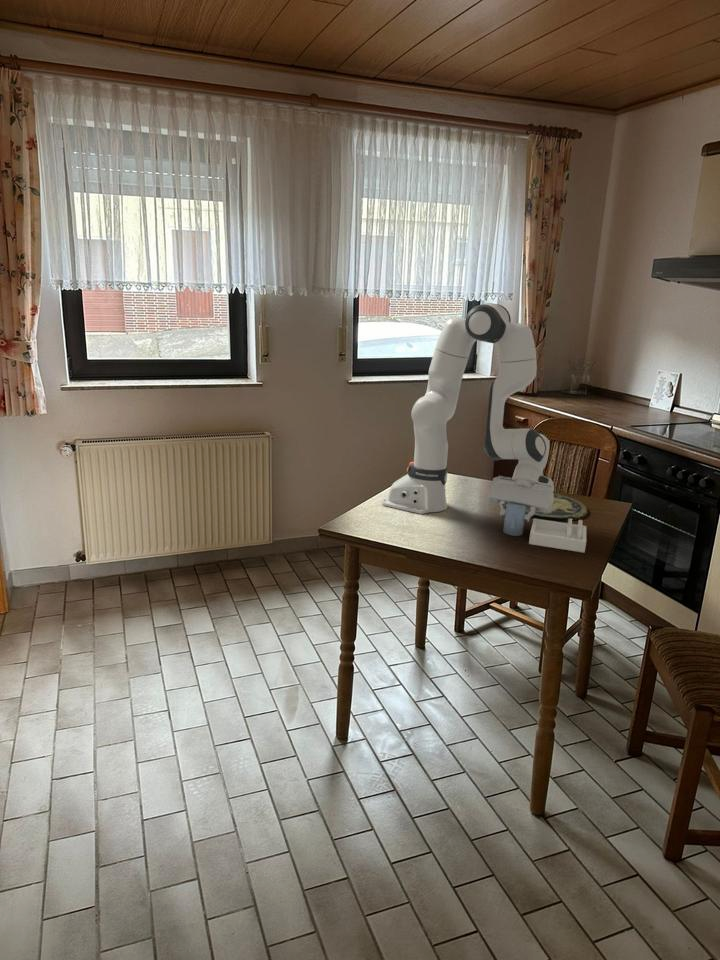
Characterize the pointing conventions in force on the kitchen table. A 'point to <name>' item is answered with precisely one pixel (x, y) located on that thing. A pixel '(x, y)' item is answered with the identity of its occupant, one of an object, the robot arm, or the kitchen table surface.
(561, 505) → the decorative plate
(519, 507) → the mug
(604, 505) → the kitchen table surface
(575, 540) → the white pegged tray
